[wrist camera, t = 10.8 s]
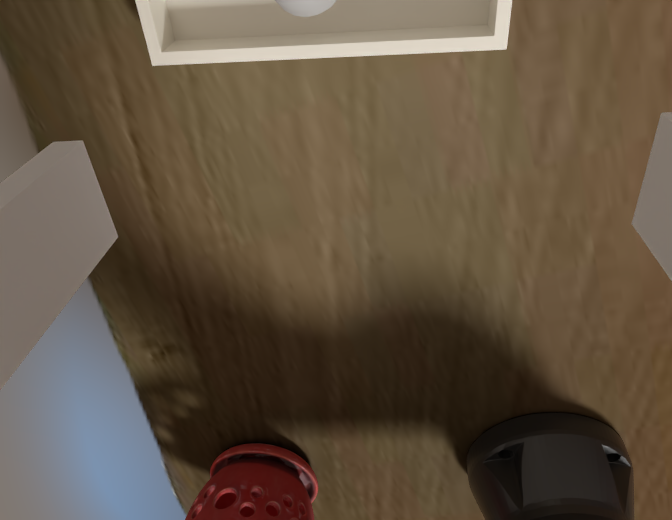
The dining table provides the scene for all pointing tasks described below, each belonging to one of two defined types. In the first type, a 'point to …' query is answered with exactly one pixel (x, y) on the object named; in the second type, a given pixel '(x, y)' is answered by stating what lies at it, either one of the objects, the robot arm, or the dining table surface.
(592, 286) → the dining table surface
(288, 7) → the grey curved piece
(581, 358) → the dining table surface
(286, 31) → the tray
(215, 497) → the plant pot
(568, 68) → the dining table surface
